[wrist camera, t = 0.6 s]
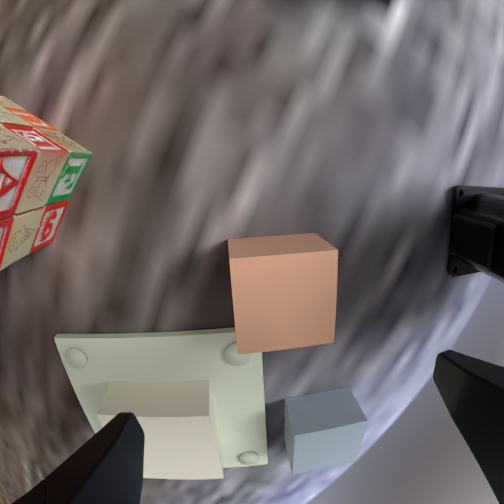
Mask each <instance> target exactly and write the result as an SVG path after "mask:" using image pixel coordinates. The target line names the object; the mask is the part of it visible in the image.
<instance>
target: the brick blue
mask: <svg viewBox="0 0 504 504" xmlns="http://www.w3.org/2000/svg"><path fill="white" fill-rule="evenodd" d="M366 424H367V419H366V417H365V415H364V413H363V412H362V410H361V408H360V406H359V404H358V403H357V401H356V399H355V397H354V395H353V394H352V392H351V390H350V388H349V387H346V388H342V389H336V390H331V391H326V392H320V393H314V394H308V395H302V396H296V397H289V398H284V442H285V446H286V450H287V454H288V458H289V462H290V466H291V470H292V474H293V475H294V474H300V473H305V472H311V471H316V470H321V469H325V468H330V467H334V466H339V465H343V464H347V463H351V462H355V461H356V459H357V456H358V453H359V449H360V446H361V442H362V439H363V435H364V431H365V427H366Z"/></svg>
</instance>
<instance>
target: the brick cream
mask: <svg viewBox="0 0 504 504" xmlns="http://www.w3.org/2000/svg"><path fill="white" fill-rule="evenodd" d="M120 412H132V413H134V414H135V416H136V418H137V420H138V422H139V423H140V425H141V427H142V429H143V431H144V435H145V443H144V468H143V478H156V479H222V478H223V455H222V442H221V437H220V432H219V427H218V422H217V417H216V412H215V406H214V401H213V395H212V390H211V384H210V380H191V381H159V382H127V381H111V382H110V384H109V386H108V388H107V391H106V393H105V395H104V398H103V400H102V402H101V405H100V407H99V410H98V412H97V416H98V418H99V420H100V422H101V424H102V426H103V427H104V426H105V425H106V424H107V423H108V422H109V421H110V420H112V419H113V418H114V417H115V416H116V415H117V414H118V413H120Z"/></svg>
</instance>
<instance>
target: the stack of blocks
mask: <svg viewBox="0 0 504 504" xmlns="http://www.w3.org/2000/svg"><path fill="white" fill-rule="evenodd" d="M91 155H92V153H91V152H90V151H88V150H87V149H85V148H83V147H82V146H80V145H78V144H77V143H75V142H74V141H72V140H71V139H69V138H67V137H66V136H64V135H63V134H61V133H59V132H58V131H57V129H56V128H54V127H52V126H51V125H49V124H47V123H46V122H44V121H43V120H41V119H39V118H38V117H36V116H34V115H33V114H31V113H30V112H27V111H26V110H25V109H23V108H22V107H20V106H19V105H17V104H15V103H14V102H12V101H10V100H9V99H7V98H5V97H4V96H0V271H1V270H3V269H4V268H6V267H7V266H9V265H11V264H12V263H14V262H16V261H17V260H19V259H21V258H23V257H24V256H26V255H27V254H30V253H33V252H35V251H36V250H38V249H40V248H42V247H44V246H46V245H48V244H49V243H51V242H52V241H53V239H54V236H55V234H56V231H57V229H58V227H59V224H60V222H61V219H62V217H63V214H64V212H65V210H66V207H67V205H68V203H69V200H70V197H71V195H72V193H73V190H74V188H75V186H76V184H77V182H78V180H79V178H80V176H81V174H82V172H83V170H84V168H85V166H86V164H87V162H88V161H89V159H90V157H91Z"/></svg>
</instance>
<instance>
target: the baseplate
mask: <svg viewBox="0 0 504 504" xmlns="http://www.w3.org/2000/svg"><path fill="white" fill-rule="evenodd" d="M54 340H55V343H56V346H57V348H58V351H59V354H60V357H61V359H62V362H63V364H64V367H65V369H66V372H67V374H68V377H69V379H70V382H71V384H72V386H73V389H74V391H75V393H76V395H77V397H78V400H79V402H80V404H81V406H82V408H83V410H84V412H85V414H86V416H87V418H88V420H89V422H90V424H91V426H92V428H93V430H94V432H95V434H96V433H97V432H98V431H99V430H100V429H102V428H103V426H102V424H101V422H100V420H99V418H98V416H97V412H98V410H99V407H100V405H101V402H102V400H103V398H104V395H105V393H106V391H107V388H108V386H109V384H110V382H111V381H127V382H159V381H191V380H210V384H211V390H212V395H213V401H214V406H215V412H216V417H217V422H218V427H219V432H220V437H221V442H222V455H223V468H230V467H243V466H254V465H263V464H268V457H267V438H266V419H265V400H264V382H263V364H262V352H258V353H248V354H238V352H237V342H236V331H235V327H231V328H219V329H206V330H191V331H174V332H153V333H122V334H57V335H56V336H55V337H54Z"/></svg>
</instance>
